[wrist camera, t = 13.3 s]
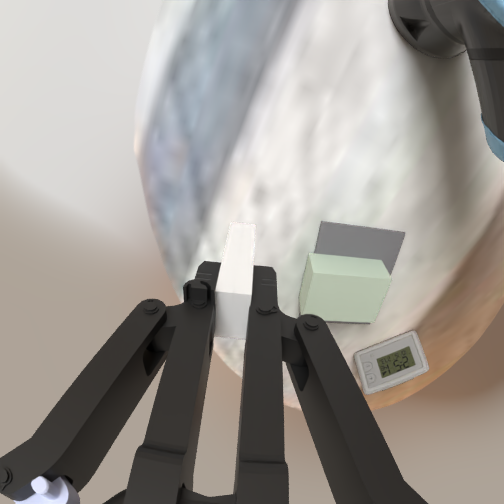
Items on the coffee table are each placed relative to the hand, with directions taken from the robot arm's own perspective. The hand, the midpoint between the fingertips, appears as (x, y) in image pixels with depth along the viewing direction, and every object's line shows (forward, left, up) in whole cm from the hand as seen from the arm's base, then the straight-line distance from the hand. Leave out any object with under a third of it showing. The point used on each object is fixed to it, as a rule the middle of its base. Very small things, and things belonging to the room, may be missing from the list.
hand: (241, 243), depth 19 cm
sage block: (-11, +22, -26) cm, 36 cm away
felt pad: (-20, +22, -29) cm, 42 cm away
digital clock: (-35, +41, -30) cm, 61 cm away
